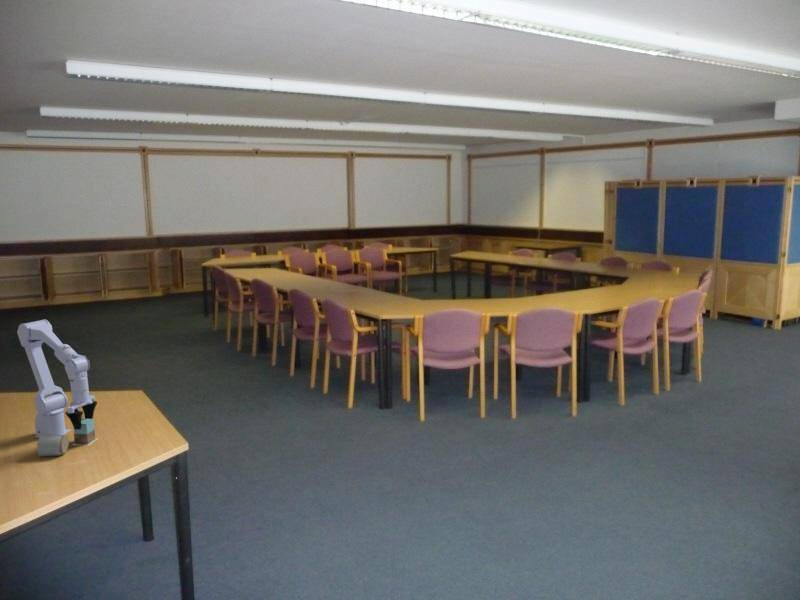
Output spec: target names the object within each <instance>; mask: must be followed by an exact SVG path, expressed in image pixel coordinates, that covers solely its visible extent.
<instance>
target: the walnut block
mask: <svg viewBox="0 0 800 600" xmlns="http://www.w3.org/2000/svg"><path fill="white" fill-rule="evenodd" d="M95 438H96V432H95V429H94V430H93V431H91V432H90V433H88V434H74V433H73V440H74V443H75V444H89V443H91V442H92V441H93V440H95Z"/></svg>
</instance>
